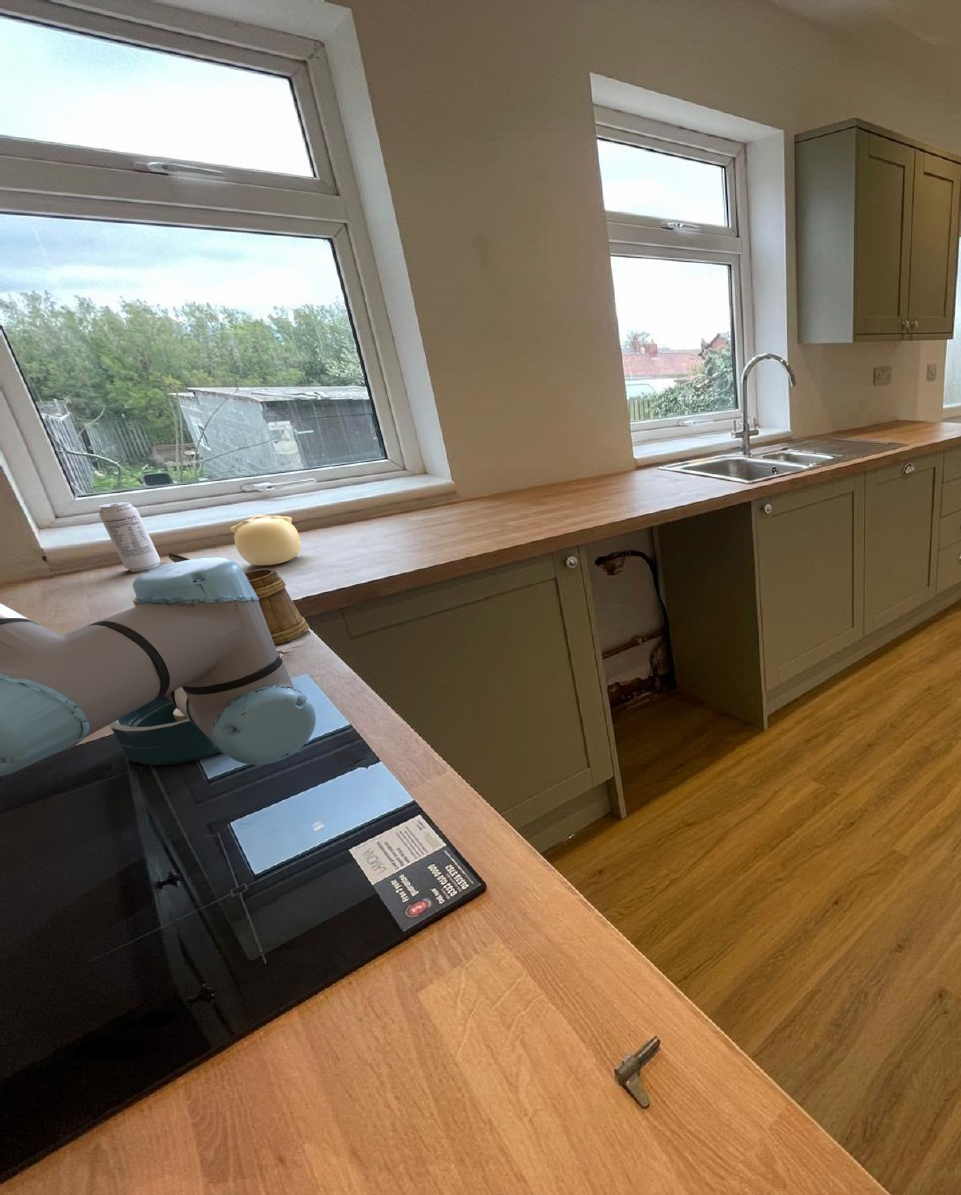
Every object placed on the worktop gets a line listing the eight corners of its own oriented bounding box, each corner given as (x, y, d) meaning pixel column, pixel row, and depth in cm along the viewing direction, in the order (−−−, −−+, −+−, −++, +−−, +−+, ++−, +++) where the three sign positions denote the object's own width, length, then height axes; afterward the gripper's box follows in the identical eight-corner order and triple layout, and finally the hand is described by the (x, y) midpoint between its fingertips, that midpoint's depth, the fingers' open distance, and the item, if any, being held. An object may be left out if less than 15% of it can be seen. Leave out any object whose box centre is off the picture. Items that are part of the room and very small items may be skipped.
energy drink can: (164, 561, 151) (136, 499, 145) (159, 568, 147) (129, 504, 141) (130, 567, 148) (99, 504, 142) (124, 574, 144) (92, 509, 138)
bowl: (115, 787, 74) (92, 747, 71) (143, 725, 85) (124, 689, 83) (283, 736, 82) (267, 699, 79) (286, 686, 93) (272, 652, 91)
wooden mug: (201, 655, 104) (151, 550, 97) (290, 621, 115) (252, 524, 108) (231, 665, 100) (182, 556, 93) (321, 628, 112) (283, 529, 104)
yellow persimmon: (304, 549, 155) (288, 506, 151) (308, 561, 146) (291, 515, 142) (244, 561, 148) (225, 516, 144) (245, 575, 140) (225, 527, 135)
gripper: (291, 628, 73) (221, 589, 86) (104, 690, 62) (56, 635, 74) (313, 685, 76) (243, 639, 89) (139, 754, 65) (87, 690, 77)
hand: (158, 637), depth 82 cm, fingers closed on wooden stirrer, 2 cm apart
